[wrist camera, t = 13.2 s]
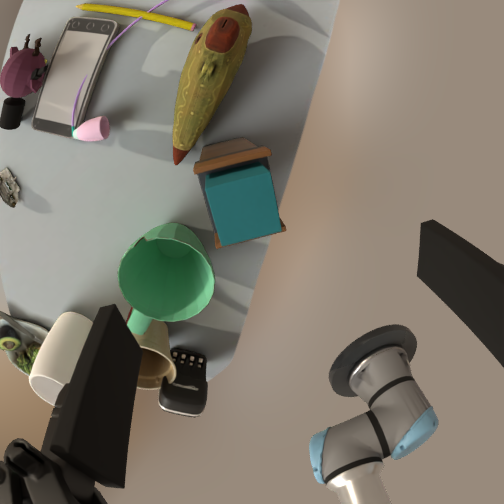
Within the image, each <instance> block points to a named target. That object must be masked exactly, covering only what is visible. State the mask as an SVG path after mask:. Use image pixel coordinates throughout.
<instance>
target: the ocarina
mask: <svg viewBox="0 0 504 504" xmlns="http://www.w3.org/2000/svg"><path fill="white" fill-rule="evenodd" d="M251 31H252V22H251V19H250V17H249V14H248V12H247V9H246V8H245V6H244V5H243V4H239V5H235V6H232V7H229V8H227V9H223V10H220V11H218V12H216V13H215V14H214V15H212V16H211V17H210V19H209V20H208V21H207V22H206V23H205V25H204V26H203V27H202V29H201V30H200V32H199V33H198V35H197V36H196V38H195V40H194V42H193V44H192V47H191V49H190V52H189V54H188V57H187V60H186V63H185V65H184V68H183V71H182V74H181V78H180V82H179V88H178V93H177V99H176V105H175V113H174V126H173V159H174V164H175V165H178V164H179V163H180V162H181V161H182V160H183V159H184V157H185V156H186V155H187V154H188V152H189V151H190V149H191V148H192V147H193V146H194V145H195V143H196V141H197V140H198V138H199V137H200V135H201V134H202V132H203V131H204V130H205V128H206V127H207V125H208V124H209V122H210V120H211V119H212V117H213V115H214V113H215V111H216V110H217V108H218V106H219V105H220V103H221V101H222V100H223V98H224V96H225V95H226V93H227V91H228V89H229V87H230V85H231V83H232V81H233V79H234V77H235V75H236V73H237V71H238V69H239V67H240V65H241V63H242V61H243V58H244V55H245V52H246V48H247V42H248V39H249V37H250V35H251Z"/></svg>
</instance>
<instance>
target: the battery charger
mask: <svg viewBox="0 0 504 504" xmlns="http://www.w3.org/2000/svg"><path fill="white" fill-rule="evenodd" d="M170 355H171V357H172V360H173V362H174V364H175V366H176V378H175V380H174V381H173V382H172V383H171V384H170V383H168V380H167V377H166V376H164V377H163V379H162V383H161V388H160V389H159V395H158V403H159V406H160V407H161V409H162V410H164V411H166V412H169V413H173V414H178V415H183V416H188V417H198V416H200V415H201V414H202V413H203V412H204V408H205V405H206V401H207V388H208V384H207V381H206V363H207V359H206V357H205V356H204V355H201V354H198V353H194V352H190V351H185V350H181V349H176V348H173V349H171V350H170Z"/></svg>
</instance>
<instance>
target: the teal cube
mask: <svg viewBox="0 0 504 504" xmlns="http://www.w3.org/2000/svg"><path fill="white" fill-rule="evenodd" d="M205 191H206V194H207V198H208V201H209V205H210V208H211V212H212V215H213V219H214V222H215V226H216V229H217V232H218V236H219V239H220V243H221V246H222V247H223V246H227V245H231V244H235V243H239V242H242V241H246V240H250V239H254V238H258V237H262V236H266V235H269V234H273V233H277V232H281V231H282V228H281V223H280V218H279V213H278V207H277V202H276V197H275V192H274V187H273V182H272V177H271V173H270V171H269V170H267V169H266V168H265V167H264V166H263V165H262V164H261V163H260V162H255V163H251V164H247V165H243V166H239V167H235V168H231V169H227V170H223V171H219V172H215V173H212V174H208V175H206V181H205Z"/></svg>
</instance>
